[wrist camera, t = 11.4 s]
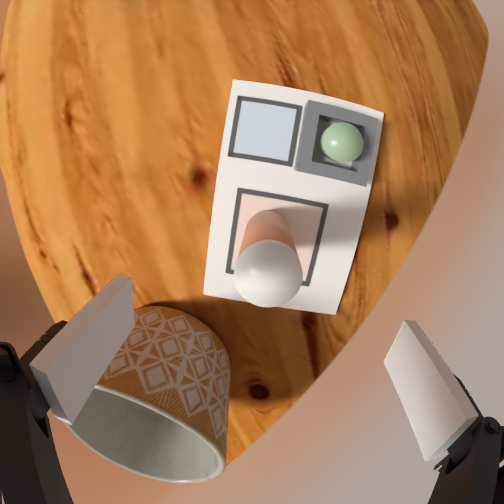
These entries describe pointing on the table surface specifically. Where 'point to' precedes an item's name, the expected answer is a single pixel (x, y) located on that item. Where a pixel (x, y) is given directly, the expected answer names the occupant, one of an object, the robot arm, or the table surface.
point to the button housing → (337, 115)
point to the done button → (341, 142)
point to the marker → (268, 261)
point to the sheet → (284, 193)
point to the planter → (162, 400)
